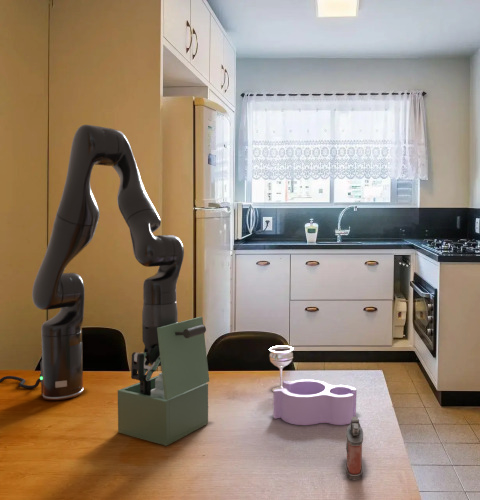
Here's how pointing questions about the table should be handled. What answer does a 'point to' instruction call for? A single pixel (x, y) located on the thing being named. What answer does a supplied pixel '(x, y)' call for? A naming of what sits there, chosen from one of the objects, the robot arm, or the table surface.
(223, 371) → the table surface
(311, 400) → the clip
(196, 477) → the table surface
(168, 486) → the table surface
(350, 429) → the lighter
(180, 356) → the lid
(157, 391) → the eye dropper bottle
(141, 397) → the chest
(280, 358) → the wineglass
